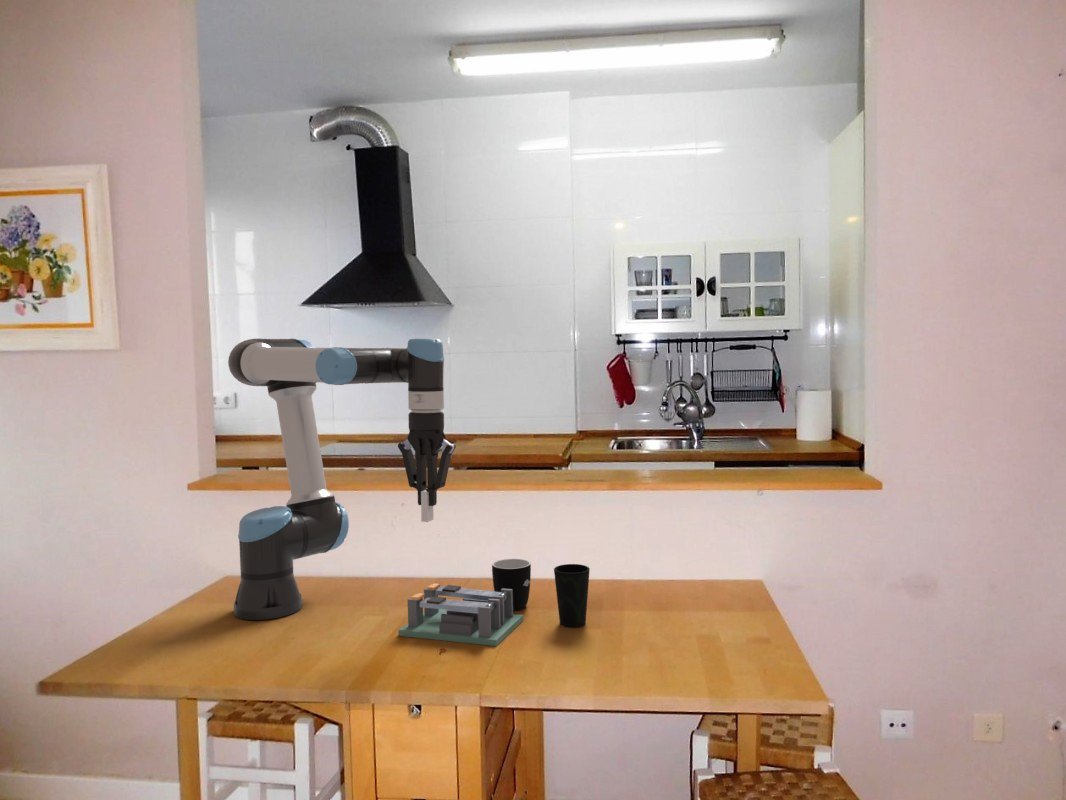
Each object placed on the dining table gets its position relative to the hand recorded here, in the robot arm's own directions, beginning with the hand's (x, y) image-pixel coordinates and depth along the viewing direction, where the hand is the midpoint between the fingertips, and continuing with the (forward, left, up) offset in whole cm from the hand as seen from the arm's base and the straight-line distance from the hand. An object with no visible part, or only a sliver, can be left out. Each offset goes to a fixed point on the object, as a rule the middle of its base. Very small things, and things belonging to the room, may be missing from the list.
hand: (427, 520), depth 164 cm
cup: (+29, +10, -23) cm, 39 cm away
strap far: (+8, +4, -17) cm, 20 cm away
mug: (+12, +19, -23) cm, 32 cm away
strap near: (+8, -3, -18) cm, 20 cm away
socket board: (+7, +1, -23) cm, 24 cm away
